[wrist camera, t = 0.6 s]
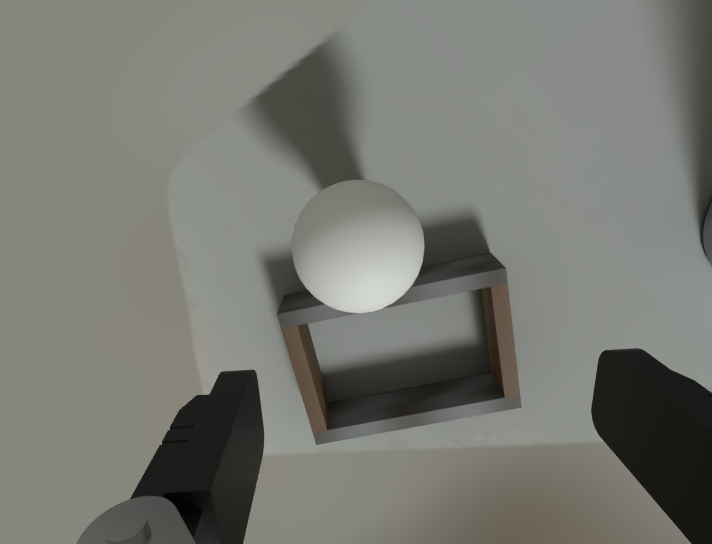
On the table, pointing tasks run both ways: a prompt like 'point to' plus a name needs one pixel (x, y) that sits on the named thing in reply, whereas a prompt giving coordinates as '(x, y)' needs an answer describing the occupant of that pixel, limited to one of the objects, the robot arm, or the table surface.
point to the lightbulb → (357, 246)
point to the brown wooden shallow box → (415, 402)
